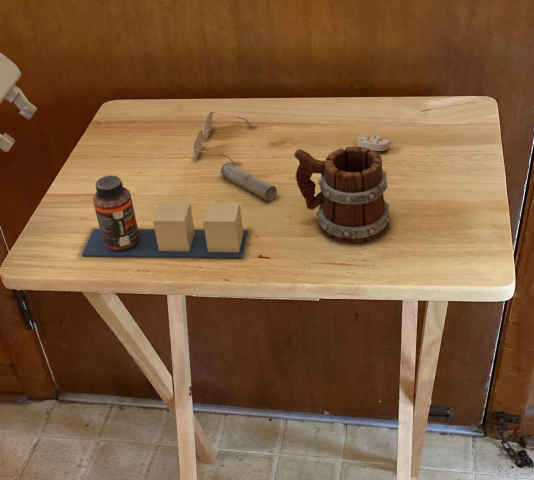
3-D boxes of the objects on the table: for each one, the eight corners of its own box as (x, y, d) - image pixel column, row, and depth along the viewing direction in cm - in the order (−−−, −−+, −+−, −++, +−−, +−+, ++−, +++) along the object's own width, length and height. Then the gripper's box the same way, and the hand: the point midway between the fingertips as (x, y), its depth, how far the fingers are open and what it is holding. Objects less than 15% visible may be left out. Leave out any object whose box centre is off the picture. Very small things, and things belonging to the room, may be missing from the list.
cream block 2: (207, 252, 129) (203, 221, 124) (213, 233, 132) (208, 202, 128) (239, 252, 128) (235, 221, 124) (243, 233, 132) (239, 202, 127)
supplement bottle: (137, 251, 130) (123, 192, 122) (100, 253, 130) (84, 193, 123) (143, 229, 134) (130, 170, 127) (107, 230, 135) (92, 172, 127)
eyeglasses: (212, 125, 159) (212, 106, 156) (252, 130, 158) (252, 111, 155) (192, 163, 149) (191, 144, 146) (235, 168, 148) (234, 149, 145)
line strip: (82, 256, 131) (81, 254, 131) (94, 230, 136) (93, 228, 136) (241, 258, 127) (241, 256, 127) (247, 231, 132) (247, 229, 132)
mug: (390, 248, 126) (374, 165, 116) (302, 252, 131) (280, 172, 121) (400, 205, 134) (387, 124, 125) (317, 210, 139) (298, 133, 130)
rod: (277, 196, 139) (276, 183, 137) (266, 203, 138) (264, 190, 136) (232, 173, 146) (231, 159, 144) (221, 179, 145) (219, 166, 143)
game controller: (389, 140, 150) (389, 128, 148) (388, 175, 142) (389, 162, 140) (358, 140, 151) (358, 128, 149) (355, 175, 142) (355, 162, 141)
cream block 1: (158, 251, 130) (152, 220, 126) (165, 232, 133) (159, 202, 129) (189, 251, 129) (184, 220, 125) (195, 232, 133) (190, 202, 129)
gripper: (-86, 88, 106) (7, 153, 111) (-25, 24, 121) (54, 84, 126) (-104, 119, 110) (-13, 181, 115) (-43, 53, 125) (35, 110, 130)
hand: (22, 130), depth 121 cm, fingers open, 8 cm apart
